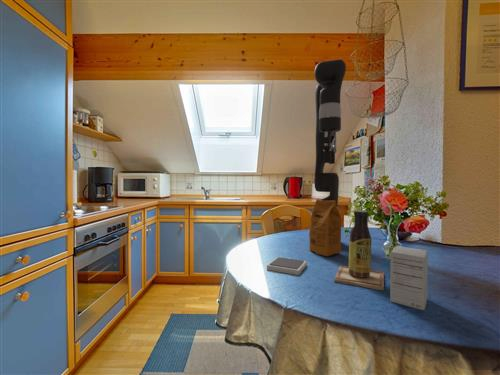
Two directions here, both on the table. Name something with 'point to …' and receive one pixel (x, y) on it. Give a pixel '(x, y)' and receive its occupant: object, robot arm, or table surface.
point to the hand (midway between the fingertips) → (329, 163)
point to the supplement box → (409, 277)
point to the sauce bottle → (360, 246)
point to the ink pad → (287, 265)
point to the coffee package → (325, 228)
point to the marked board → (360, 279)
